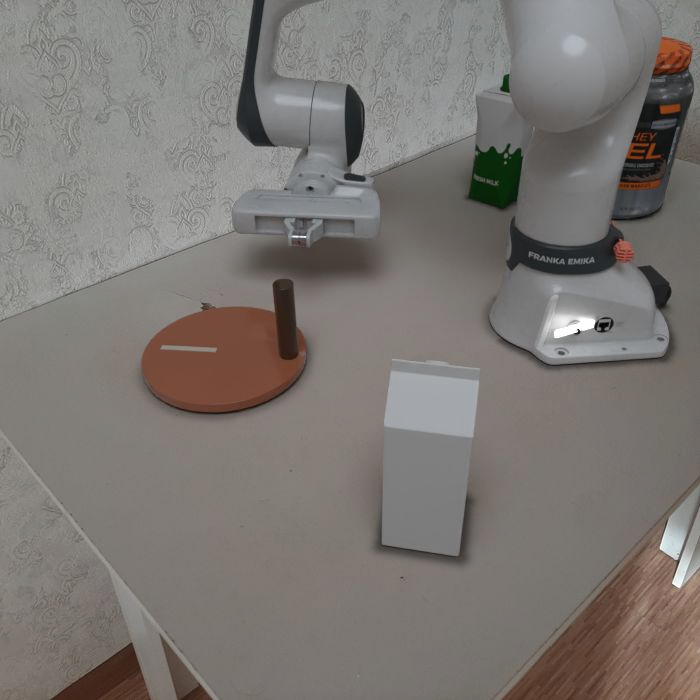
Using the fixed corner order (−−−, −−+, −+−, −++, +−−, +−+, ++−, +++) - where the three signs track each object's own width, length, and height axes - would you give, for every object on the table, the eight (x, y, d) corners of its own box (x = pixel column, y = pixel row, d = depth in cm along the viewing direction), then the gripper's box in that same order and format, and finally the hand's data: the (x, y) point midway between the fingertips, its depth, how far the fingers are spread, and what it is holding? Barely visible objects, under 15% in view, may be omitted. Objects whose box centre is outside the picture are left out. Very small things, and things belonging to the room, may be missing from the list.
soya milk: (530, 194, 126) (547, 78, 114) (504, 212, 121) (519, 92, 109) (488, 181, 131) (500, 68, 119) (460, 198, 126) (470, 81, 114)
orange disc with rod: (317, 317, 96) (313, 242, 89) (291, 417, 80) (284, 335, 73) (171, 310, 97) (157, 236, 91) (118, 407, 81) (96, 326, 75)
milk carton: (458, 558, 65) (478, 398, 53) (381, 546, 66) (384, 387, 55) (464, 499, 70) (483, 343, 59) (393, 489, 71) (397, 334, 60)
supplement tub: (555, 210, 121) (582, 49, 106) (580, 177, 132) (608, 27, 117) (652, 230, 115) (696, 63, 99) (670, 194, 126) (712, 37, 110)
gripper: (241, 172, 102) (216, 216, 91) (384, 178, 100) (377, 223, 89) (245, 213, 105) (222, 260, 94) (383, 219, 104) (376, 267, 93)
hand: (298, 242), depth 92 cm, fingers closed
